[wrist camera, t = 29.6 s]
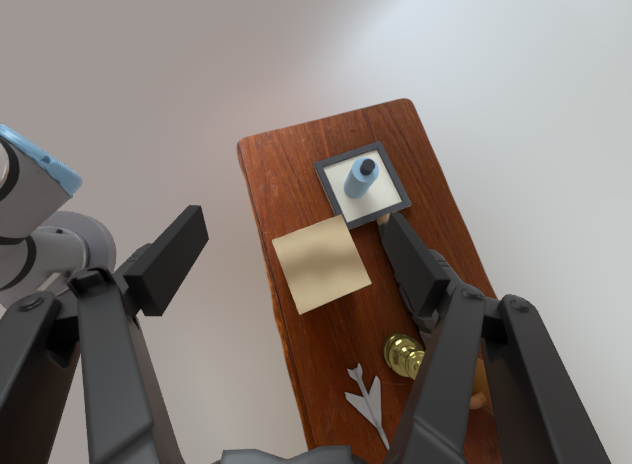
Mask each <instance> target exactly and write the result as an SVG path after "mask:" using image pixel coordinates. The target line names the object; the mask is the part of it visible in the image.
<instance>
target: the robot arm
mask: <svg viewBox="0 0 632 464" xmlns="http://www.w3.org/2000/svg"><path fill="white" fill-rule="evenodd" d="M81 185H82V179H81V177H80V176H79V175H78V174H77V173H76V172H74V171H73V170H72V169H70V168H69V167H67V166H66V165H65V164H63V163H62V162H60V161H59V160H58V159H56V158H54V157H53V156H52V155H50V154H49V153H47V152H46V151H44V150H43V149H41V148H40V147H38V146H37V145H35V144H34V143H32V142H31V141H29V140H28V139H26V138H25V137H23V136H21V135H20V134H19V133H17V132H16V131H14V130H12V129H11V128H9V127H7V126H5V125H3V124H0V294H3V295H8V296H12V297H17V298H21V299H20V300H18V301H17V302H15V303H14V304H12V305H11V306H10V307H9V308H8V309H7V311H6V312H5V314H4V315H3V317H2V318H1V320H0V464H48V460H49V457H50V453H51V450H52V446H53V444H54V440H55V437H56V434H57V430H58V427H59V424H60V420H61V417H62V413H63V410H64V407H65V403H66V400H67V397H68V393H69V390H70V387H71V383H72V380H73V376H74V373H75V370H76V367H77V363H78V360H79V357H80V353H81V361H82V375H83V386H84V400H85V412H86V426H87V439H88V451H89V463H90V464H185V462H184V460H183V458H182V456H181V453H180V450H179V447H178V444H177V441H176V438H175V435H174V431H173V429H172V425H171V422H170V419H169V416H168V412H167V410H166V406H165V403H164V400H163V397H162V394H161V390H160V387H159V384H158V381H157V378H156V374H155V371H154V368H153V365H152V362H151V359H150V355H149V352H148V349H147V346H146V343H145V339H144V336H143V333H142V330H141V327H140V324H139V321H138V318H137V317H136V314H137V313H138V311H139V310H140V309H141V310H142V311H143V313H144V315H145V316H162V314H163V313H164V311H165V310H166V308H167V306H168V305H169V303H170V302H171V300H172V298H173V297H174V295H175V293H176V292H177V290H178V289H179V287H180V285H181V284H182V282H183V280H184V279H185V277H186V276H187V274H188V272H189V271H190V269H191V267H192V266H193V264H194V263H195V261H196V259H197V258H198V256H199V254H200V253H201V251H202V249H203V248H204V246H205V245H206V243H207V241H208V240H209V238H208V233H207V229H206V225H205V221H204V217H203V213H202V208H201V206H197V205H194V206H193V205H189V206H188V207H187V208H186V209H185V210H184V211H183V212H182V213H181V214H180V215H179V216H178V217H177V219H176V220H175V221H174V222H173V223H172V224H171V225H170V226H169V227H168V228H167V229H166V230H165V231H164V232H163V233H162V234H161V235H160V236H159V237H158V238H157V239H156V240H155V242H154V243H153V244H150V243H149V244H146V245H144V246H142V247H141V248H139V249H137V250H136V251H135V252H134V253H133V254H132V256H131V257H129V259H127V260H126V262H124V263H123V264H122V265H121V266H120V267H119V268H118V269H117V270H116V271H115V272H114V273H113V274H112V275H111V273H110V271H109V269H108V268H107V267H105V266H92V267H88V266H89V262H90V250H89V246H88V244H87V242H86V240H85V239H84V238H83V237H82V236H81V235H80V234H79V233H77V232H75V231H73V230H71V229H67V228H62V227H56V226H42V227H39V226H40V225H41V224H42V223H43V222H44V221H45V220H47V219H48V218H49V217H50V216H51V215H52V214H53V213H54V212H56V211H57V210H58V209H59V208H60V207H61V206H62V205H63V204H65V202H67V201H68V200H69V199H71V198H72V197H73V194H74V193H75V192H76V191H77V190H78V189H79V188H80V187H81ZM382 245H383V247H384V249H385V251H386V253H387V255H388V257H389V259H390V261H391V263H392V265H393V267H394V269H395V271H396V273H397V275H398V277H399V280H400V282H401V284H402V286H403V288H404V290H405V292H406V294H407V296H408V298H409V300H410V302H411V304H412V306H413V308H414V310H415V312H416V314H417V316H418V317H431V316H432V314H433V313H434V311H435V309H436V311H437V313H438V314H439V317H438V318H437V320H436V322H435V324H434V325H433V327H432V329H433V331H432V334H431V337H430V340H429V342H428V345H427V348H426V351H425V353H424V356H423V359H422V362H421V364H420V367H419V370H418V373H417V375H416V378H415V381H414V384H413V386H412V389H411V392H410V394H409V397H408V400H407V403H406V405H405V408H404V411H403V414H402V416H401V419H400V422H399V425H398V427H397V430H396V433H395V436H394V438H393V441H392V444H391V446H390V448H389V450H388V452H387V454H386V456H385V459H384V461H383V463H382V464H468V463H467V461H466V459H465V458H464V455H463V448H464V442H465V435H466V428H467V422H468V415H469V409H470V402H471V396H472V389H473V383H474V376H475V370H476V363H477V357H478V350H479V344H480V345H481V350H482V355H483V361H484V366H485V371H486V377H487V382H488V387H489V392H490V398H491V403H492V408H493V413H494V419H495V424H496V429H497V435H498V440H499V445H500V450H501V456H502V461H503V464H611V462H610V460H609V458H608V456H607V454H606V452H605V450H604V447H603V445H602V443H601V441H600V439H599V437H598V435H597V433H596V431H595V429H594V427H593V425H592V423H591V421H590V418H589V416H588V414H587V412H586V410H585V408H584V406H583V404H582V402H581V400H580V398H579V396H578V394H577V392H576V389H575V387H574V385H573V383H572V381H571V379H570V377H569V375H568V373H567V371H566V369H565V367H564V365H563V362H562V361H561V359H560V356H559V354H558V352H557V350H556V348H555V346H554V344H553V342H552V340H551V338H550V336H549V334H548V331H547V329H546V327H545V325H544V323H543V321H542V319H541V317H540V315H539V313H538V311H537V310H536V308H535V307H534V306H533V305H532V304H531V303H530V302H528V301H527V300H525V299H524V298H521V297H519V296H516V295H511V294H509V295H505V296H504V297H503V298H502V300H496V299H492V298H488V297H485V295H484V294H483V293H482V292H481V291H480V290H479V289H477V288H476V287H474V286H472V285H469V284H464V282H463V281H462V280H461V279H460V277H459V276H458V275H457V274H456V272H455V271H454V270H453V269H452V267H450V265H449V264H448V263H447V262H446V260H445V259H444V258H443V256H442V255H441V254H439V253H438V252H437V251H435V250H434V249H428V248H427V247H426V245H425V244H424V243H423V241H422V240H421V239H420V237H419V236H418V235H417V233H416V232H415V231H414V230H413V228H412V227H411V226H410V224H409V223H408V222H407V220H406V219H405V218H404V216H403V215H402V214H401V213H397V212H390V216H389V219H388V223H387V226H386V230H385V234H384V237H383V241H382ZM70 290H71V291H72V293H73V294H74V295H73V296H68V297H63V298H57V297H58V296H61V295H63V294H65V293H67V292H68V291H70ZM212 464H370V463H368V462H367V461H366V460H364V459H362V458H361V457H359V456H357V455H354V454H351V448H350V445H340V446H319V447H317V448H315V449H312V450H310V451H307V452H305V453H302V454H300V455H298V456H295V457H293V458H290V459H284V458H281V457H278V456H275V455H271V454H269V453H266V452H263V451H260V450H257V449H241V450H223V453H222V458H221V460H218V461H216V462H214V463H212Z"/></svg>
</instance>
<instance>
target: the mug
mask: <svg viewBox="0 0 632 464" xmlns="http://www.w3.org/2000/svg"><path fill="white" fill-rule="evenodd" d="M480 407H481V408H483V409H484V410H486V411H487V412H488V413H490V414H491V415H493V416H494V413H493V408H492V403H491V398H490V392H489V387H488V382H487V377H486V371H485V366H484V361H483V360H481V359H479V358H477V363H476V370H475V376H474V383H473V389H472V396H471V402H470V409H478V408H480Z"/></svg>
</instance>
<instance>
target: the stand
mask: <svg viewBox="0 0 632 464" xmlns="http://www.w3.org/2000/svg"><path fill="white" fill-rule="evenodd" d="M272 243H273V245H274V248H275V251H276V253H277V256H278V259H279V261H280V264H281V267H282V269H283V272H284V275H285V277H286V280H287V283H288V286H289V288H290V291H291V294H292V296H293V299H294V302H295V304H296V307H297V310H298V312H299V315H301V314H303V313H305V312H307V311H310V310H312V309H314V308H317V307H319V306H321V305H324V304H326V303H328V302H331V301H333V300H335V299H337V298H340V297H342V296H344V295H347V294H349V293H351V292H354V291H356V290H358V289H360V288H363V287H365V286H367V285H370V284H371V281H370V279H369V276H368V274H367V272H366V270H365V267H364V265H363V263H362V260H361V258H360V256H359V254H358V251H357V249H356V247H355V244H354V242H353V240H352V238H351V235H350V233H349V231H348V228H347V226H346V224H345V221H344V219H343V217H342V215H338V216H335V217H333V218H330V219H327V220H325V221H322V222H319V223H317V224H314V225H311V226H309V227H306V228H303V229H301V230H298V231H295V232H293V233H290V234H287V235H285V236H282V237H279V238H277V239H274V240H272Z"/></svg>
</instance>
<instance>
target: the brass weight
mask: <svg viewBox="0 0 632 464" xmlns="http://www.w3.org/2000/svg"><path fill="white" fill-rule="evenodd" d="M424 353H425V352H424V350H423V348H422V346H421V345H420V343H419V342H418V341H417V340H415V339H414V338H411V337H410V336H408V335H405V334H403V333H399V332H396V333H392V334H390V335H389V336H387V337H386V339H385V340H384V342H383V345H382V355H383V358H384V360H385V362H386V363H387V364H388V365H389V367H390V368H391V369H392V370H393V371H394V372H395V373H397V374H398V375H399V376H402V377H405V378H412V379H414V380H415V378H416V375H417V373H418V370H419V367H420V364H421V362H422V359H423V356H424Z"/></svg>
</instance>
